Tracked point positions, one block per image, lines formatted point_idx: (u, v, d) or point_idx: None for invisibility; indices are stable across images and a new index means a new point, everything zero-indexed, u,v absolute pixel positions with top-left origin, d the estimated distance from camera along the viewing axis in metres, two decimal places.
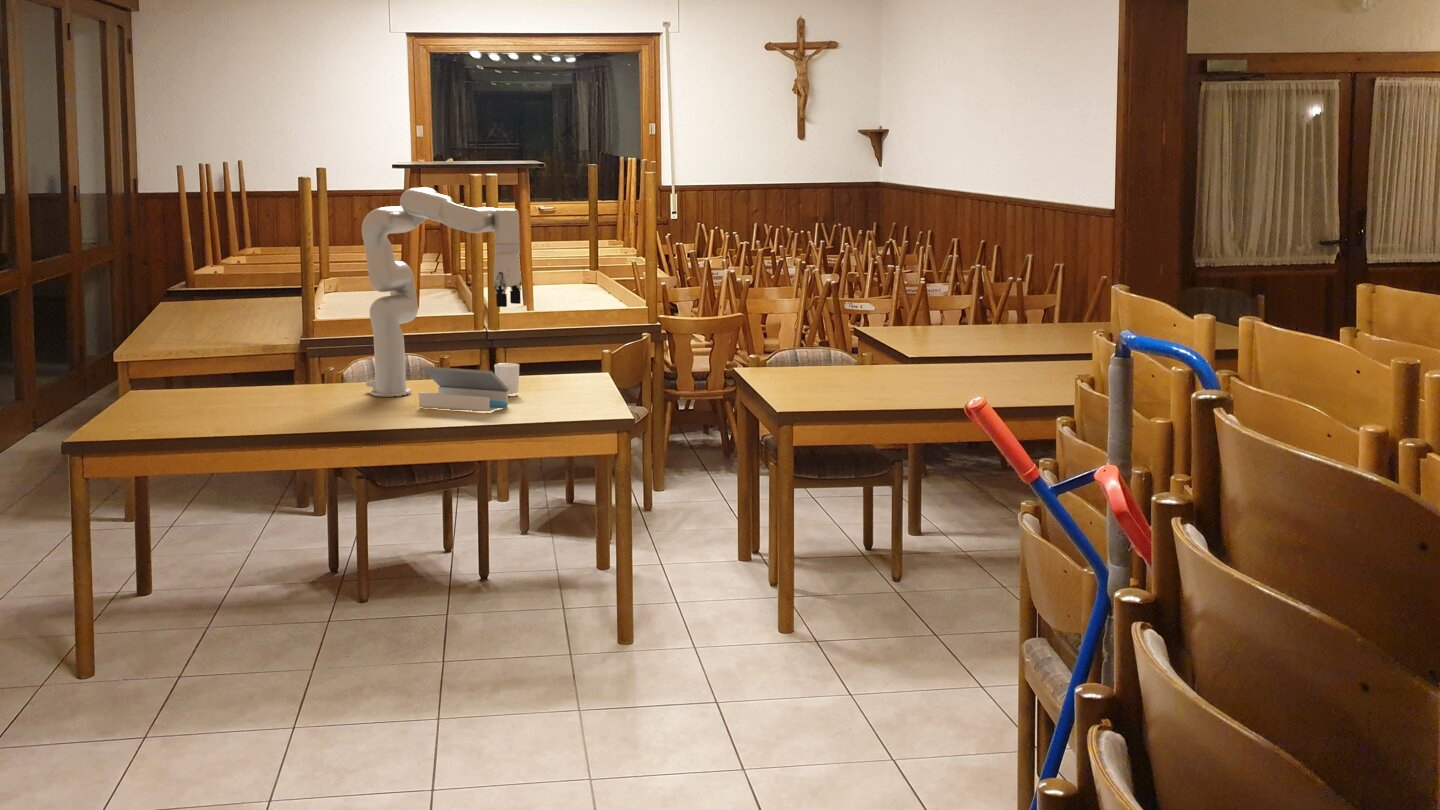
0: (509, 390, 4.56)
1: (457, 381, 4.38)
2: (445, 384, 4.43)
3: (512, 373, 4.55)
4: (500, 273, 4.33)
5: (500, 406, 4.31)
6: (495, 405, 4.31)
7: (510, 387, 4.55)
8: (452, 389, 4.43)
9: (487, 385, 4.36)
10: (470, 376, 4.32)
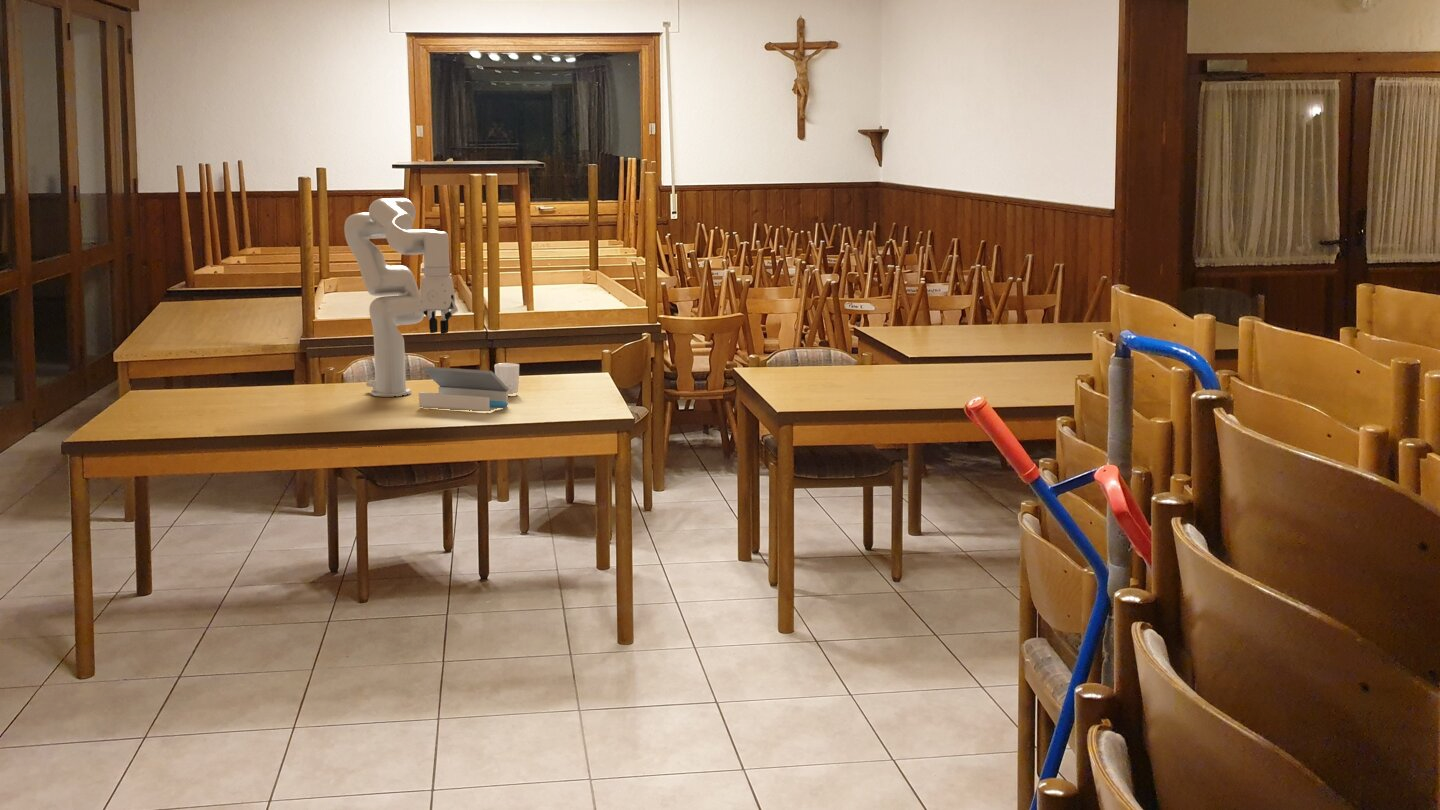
0: (509, 390, 4.56)
1: (457, 381, 4.38)
2: (445, 384, 4.43)
3: (512, 373, 4.55)
4: (451, 298, 4.30)
5: (500, 406, 4.31)
6: (495, 405, 4.31)
7: (510, 387, 4.55)
8: (452, 389, 4.43)
9: (487, 385, 4.36)
10: (470, 376, 4.32)
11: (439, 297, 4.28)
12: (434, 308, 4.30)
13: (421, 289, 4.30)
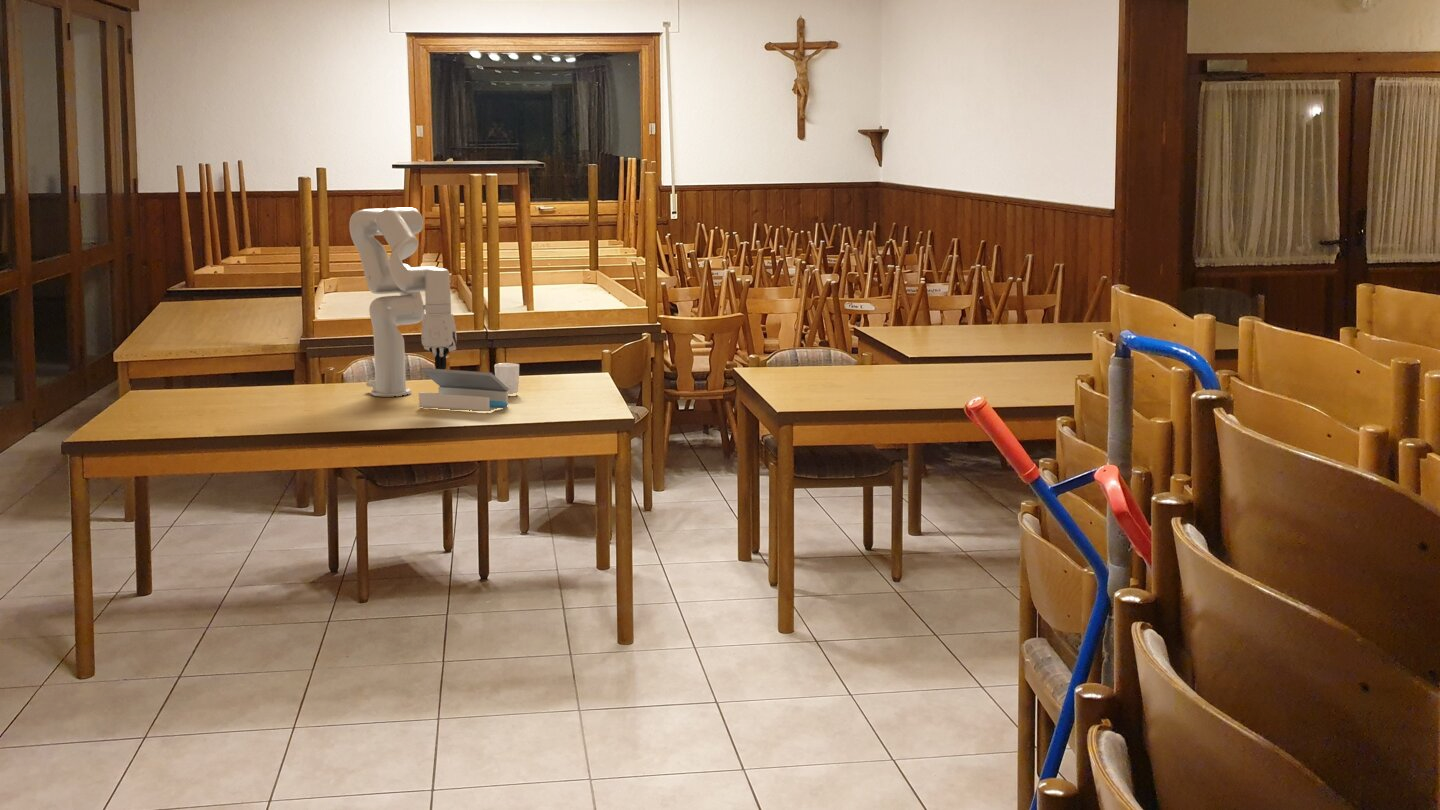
0: (509, 390, 4.56)
1: (457, 382, 4.38)
2: (445, 384, 4.43)
3: (512, 373, 4.55)
4: None
5: (500, 406, 4.31)
6: (495, 405, 4.31)
7: (510, 387, 4.55)
8: (452, 389, 4.43)
9: (487, 385, 4.36)
10: (470, 377, 4.32)
11: (440, 334, 4.30)
12: (436, 345, 4.31)
13: (423, 326, 4.32)
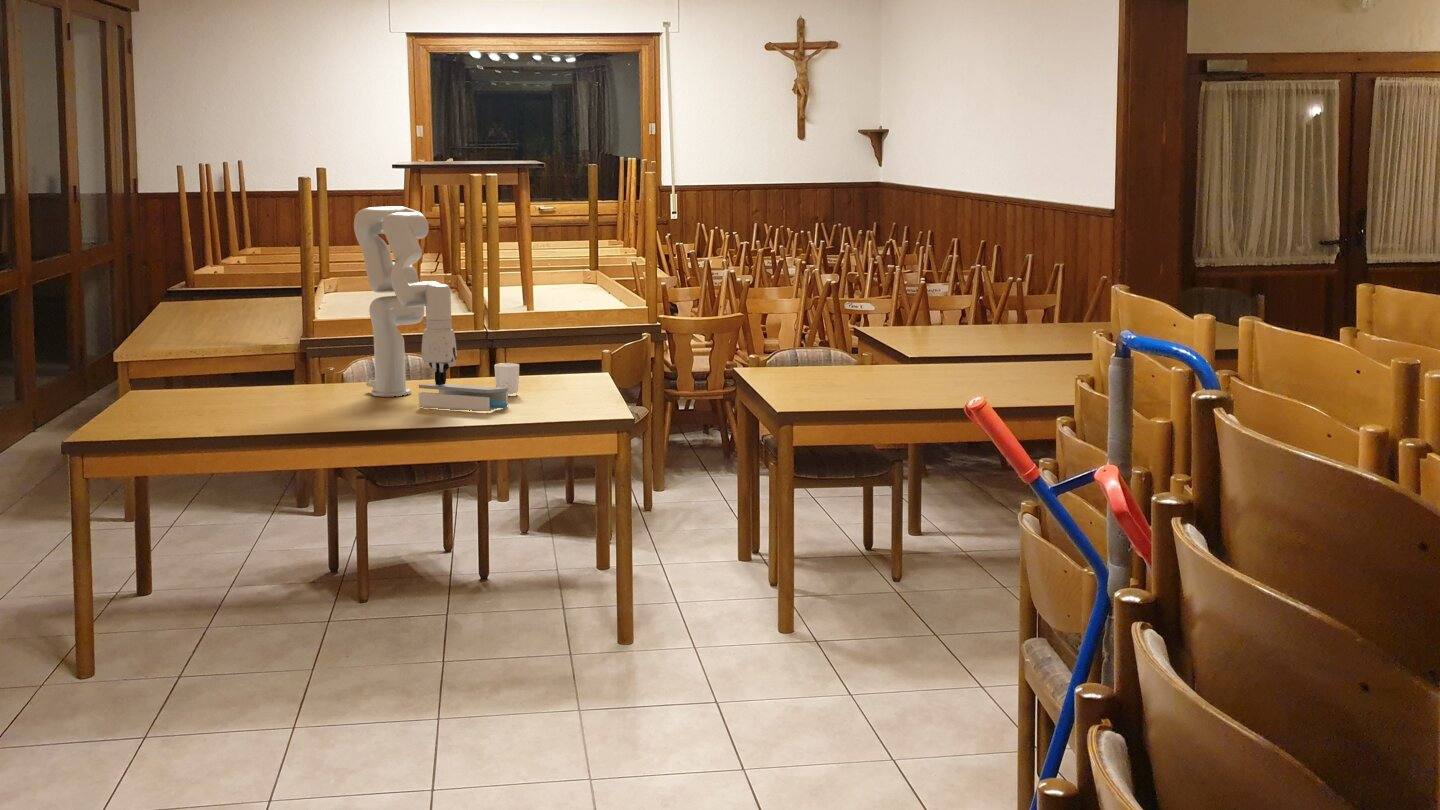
0: (509, 390, 4.56)
1: None
2: None
3: (512, 373, 4.55)
4: None
5: (500, 406, 4.31)
6: (495, 405, 4.31)
7: (510, 387, 4.55)
8: None
9: None
10: None
11: (441, 350, 4.31)
12: (436, 360, 4.32)
13: (423, 341, 4.33)
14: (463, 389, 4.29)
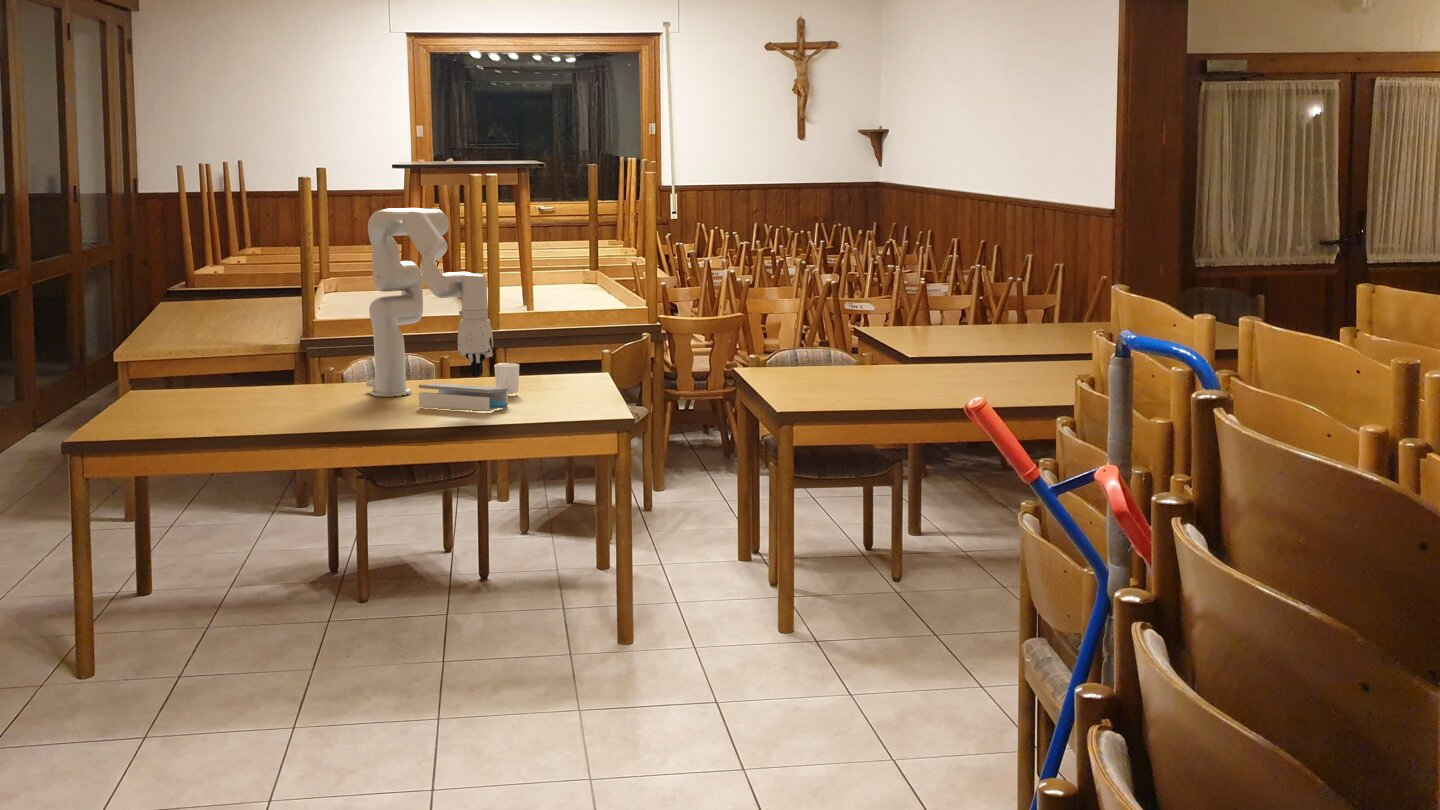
0: (509, 390, 4.56)
1: None
2: None
3: (512, 373, 4.55)
4: (488, 342, 4.28)
5: (500, 406, 4.31)
6: (495, 405, 4.31)
7: (510, 387, 4.55)
8: None
9: None
10: None
11: (477, 340, 4.26)
12: (472, 351, 4.27)
13: (459, 332, 4.28)
14: (463, 389, 4.29)
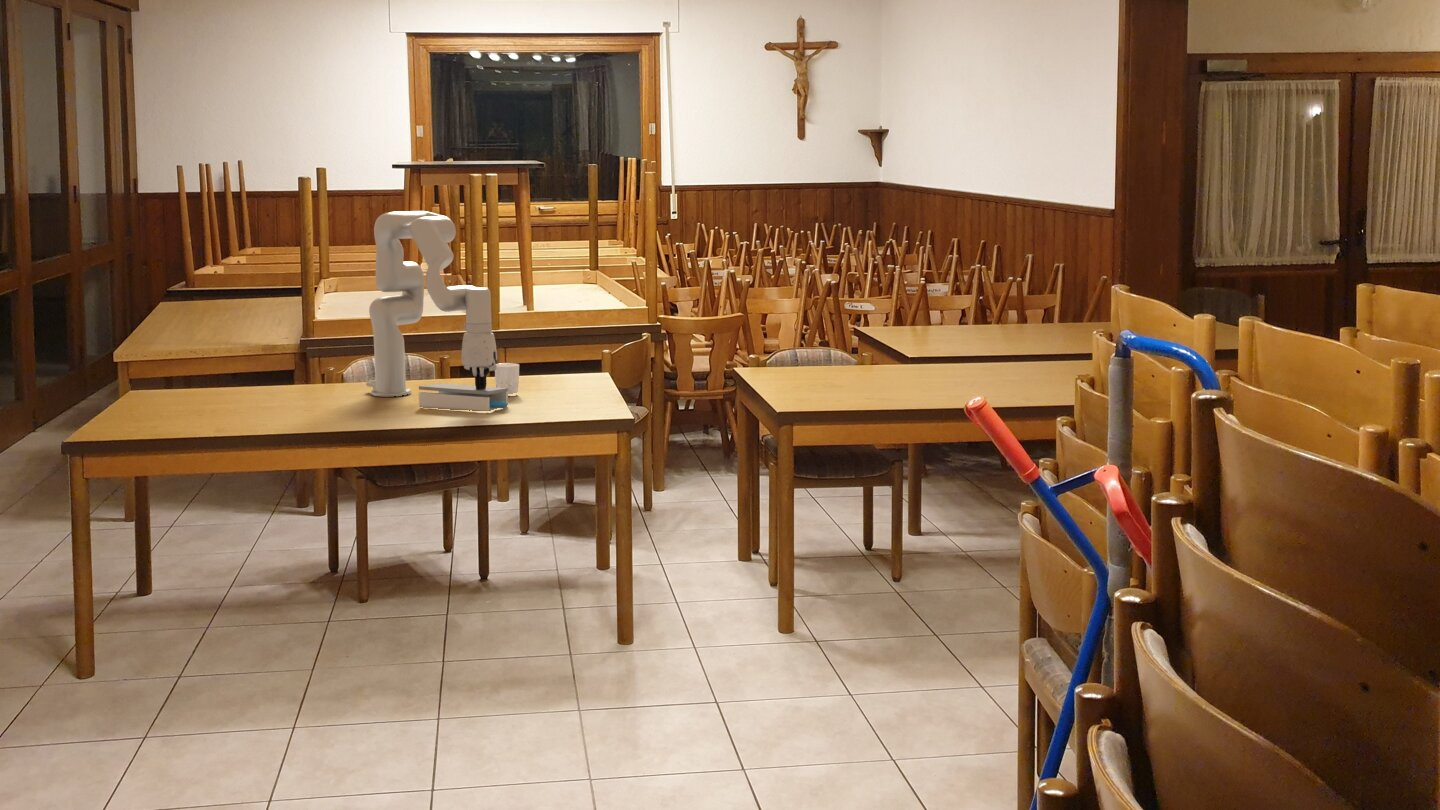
0: (509, 390, 4.56)
1: None
2: None
3: (512, 373, 4.55)
4: (492, 356, 4.28)
5: (500, 406, 4.31)
6: (495, 405, 4.31)
7: (510, 387, 4.55)
8: None
9: None
10: None
11: (481, 354, 4.26)
12: (476, 365, 4.27)
13: (463, 346, 4.28)
14: (463, 390, 4.29)
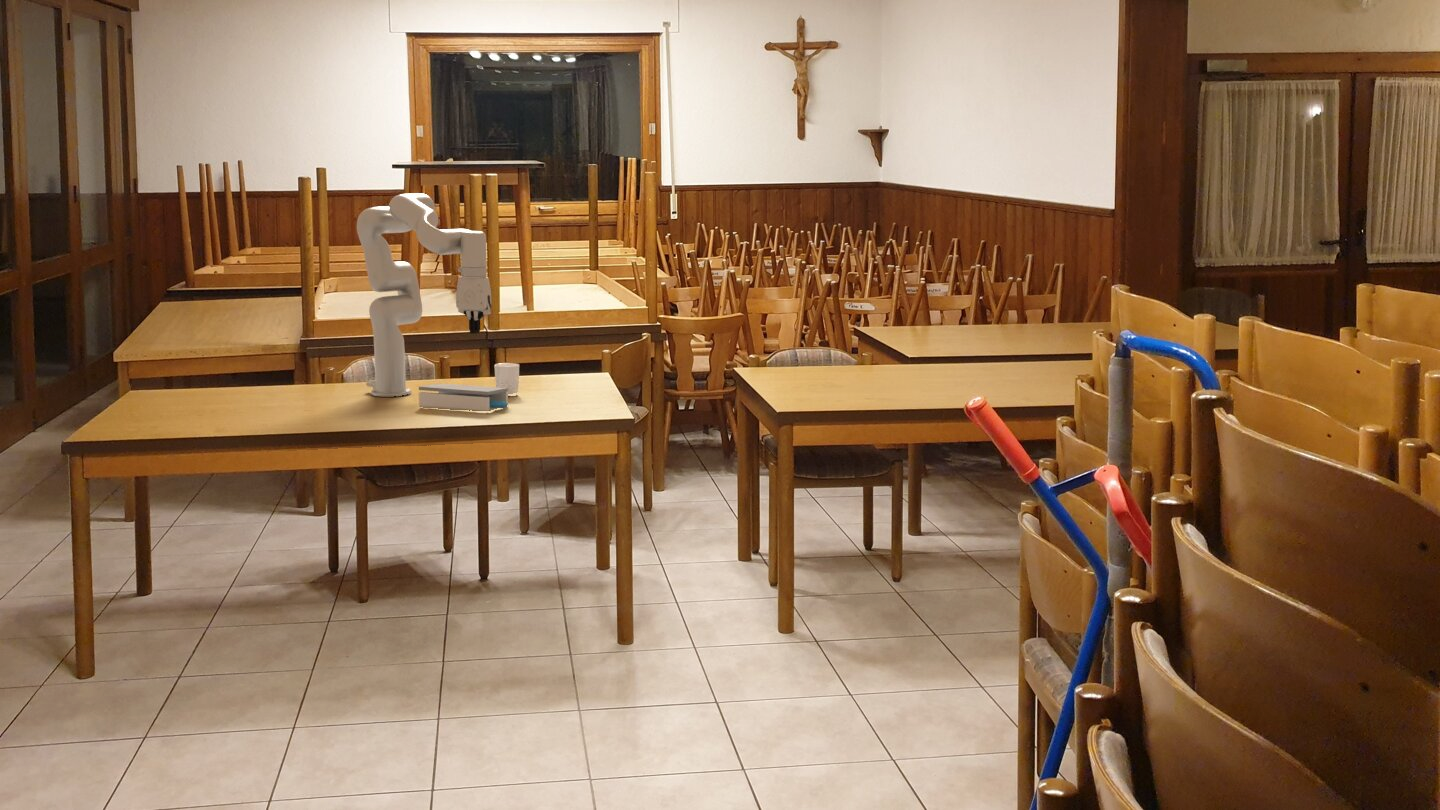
0: (509, 390, 4.56)
1: None
2: None
3: (512, 373, 4.55)
4: None
5: (500, 406, 4.31)
6: (495, 405, 4.31)
7: (510, 387, 4.55)
8: None
9: None
10: None
11: (475, 297, 4.26)
12: (470, 308, 4.28)
13: (457, 289, 4.29)
14: (463, 391, 4.29)
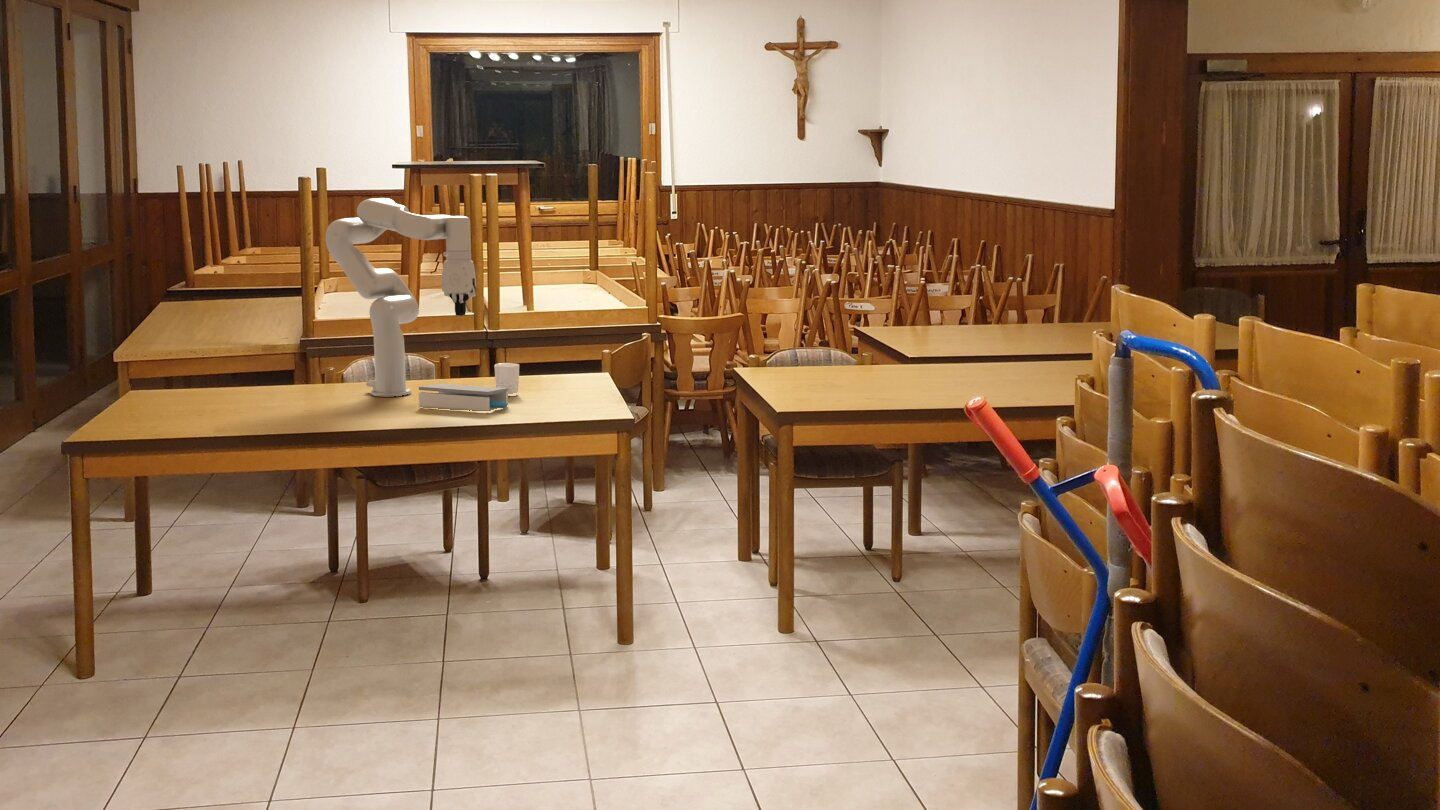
0: (509, 390, 4.56)
1: None
2: None
3: (512, 373, 4.55)
4: (471, 283, 4.41)
5: (500, 406, 4.31)
6: (495, 405, 4.31)
7: (510, 387, 4.55)
8: None
9: None
10: None
11: (461, 280, 4.39)
12: (456, 291, 4.40)
13: (443, 272, 4.41)
14: (463, 391, 4.29)
